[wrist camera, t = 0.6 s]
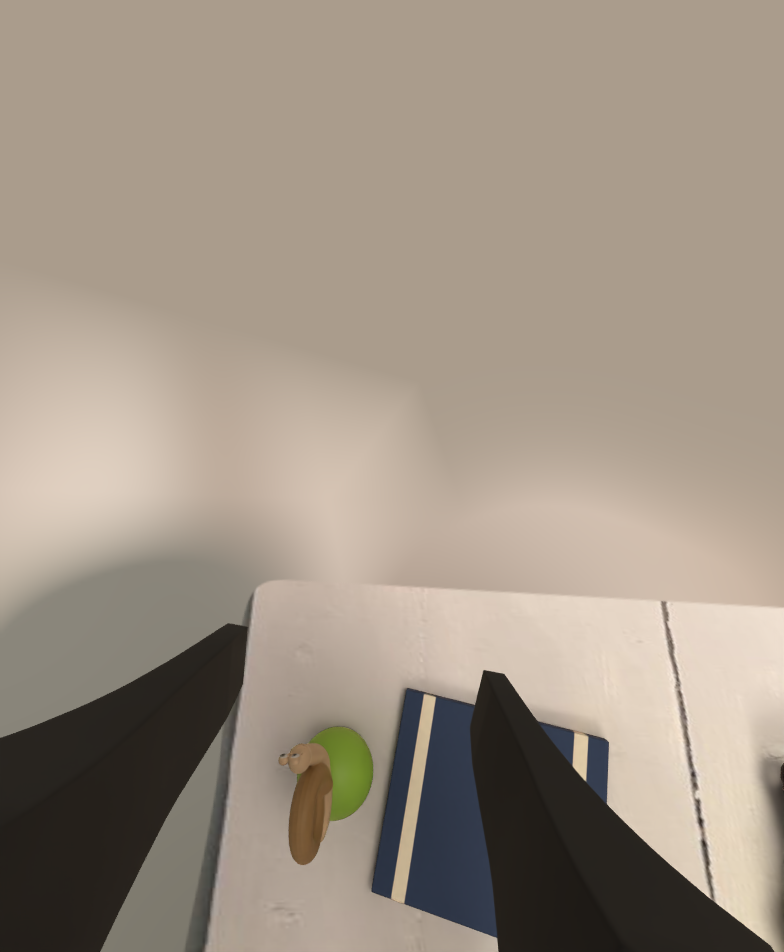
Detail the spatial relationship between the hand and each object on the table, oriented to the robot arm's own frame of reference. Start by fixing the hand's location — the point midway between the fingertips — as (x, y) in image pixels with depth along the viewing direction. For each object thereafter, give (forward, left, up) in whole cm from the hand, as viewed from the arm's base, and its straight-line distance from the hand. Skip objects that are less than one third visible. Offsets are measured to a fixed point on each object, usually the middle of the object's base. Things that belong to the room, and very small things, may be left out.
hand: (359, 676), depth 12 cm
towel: (-11, -7, -23) cm, 26 cm away
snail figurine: (-10, +4, -23) cm, 25 cm away
